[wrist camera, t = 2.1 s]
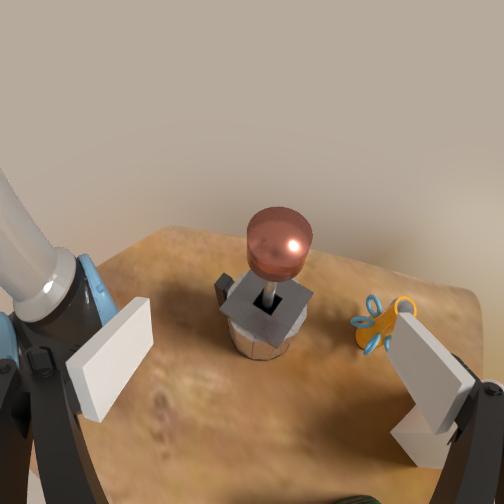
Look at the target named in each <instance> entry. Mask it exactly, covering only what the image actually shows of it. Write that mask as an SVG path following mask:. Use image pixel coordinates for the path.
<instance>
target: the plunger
mask: <svg viewBox="0 0 504 504" xmlns="http://www.w3.org/2000/svg"><path fill="white" fill-rule="evenodd" d="M312 237H313V234H312V229H311V226H310V224H309V223H308V221H307V220H306V219H305V218H304V217H303V216H302V215H301V214H300V213H298V212H296V211H294V210H292V209H289V208H284V207H270V208H266V209H264V210H261V211H260V212H258V213H257V214H255V215H254V216H253V218H252V219H251V220H250V222H249V224H248V228H247V261H248V264H249V267H250V268H251V270H252V271H253V272H254V273H255V274H256V275H257V276H258V277H260V278H262V279H264V280H265V286H264V293H263V300H262V307H261V310H262V311H264V312H265V313H267V314H268V315H270V312H271V308H272V303H273V299H274V295H275V291H276V286H277V282H284V281H288V280H290V279H292V278H294V277H295V276H297V275H298V274H299V272H300V271H301V270H302V268H303V265H304V262H305V260H306V257H307V254H308V251H309V248H310V245H311V242H312Z"/></svg>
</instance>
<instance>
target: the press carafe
mask: <svg viewBox="0 0 504 504" xmlns="http://www.w3.org/2000/svg"><path fill="white" fill-rule="evenodd" d="M214 286H215V290H216V295H217V299H218V303H219V306H221V307H220V309H219V311H220V312H221V313H222V314H224V315H225V316H227V320H228V325H229V330H230V335H231V337H232V341H233V343H234V345H235V347H236V348H237V350H238V351H239V352H240V353H241V354H243V355H244V356H246V357H247V358H250V359H252V360H257V361H267V360H272V359H274V358H276V357H278V356H280V355H281V354H282V353H284V352H285V351H286V349H287V348H288V346H289V345H290V343H291V341H292V339H293V338H294V336H295V335H296V333H297V331H298V330H299V328H300V327H301V325H302V323H303V322H304V320H305V319H306V316H307V303H308V302H309V300H310V298H311V297H312V295H313V293H314V292H312V291H310V290H309V289H307V288H305V287H304V286H302V285H300V284H299V282H298V281H297V280H296V279H295V278H292V279H290V280H288V281H284V282H277V286H276V291H275V295H274V299H273V303H272V308H271V312H270V315H268V314H267V313H265V312H264V311H262V310H261V307H262V300H263V293H264V286H265V280H264V279H262V278H260V277H258V276H257V275H256V274H255V273H254V272H253V271H252V270H251V269H250V270H249V272H247V273H245V274H242V275H241V276H239V278H238V279H237V280H236V281H233V280H232V278H231V277H230V276H228V275H227V274H225V273H223V274H222V275H221V277H220V278H219V279H218V280H217V281H216V283H215V284H214Z"/></svg>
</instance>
